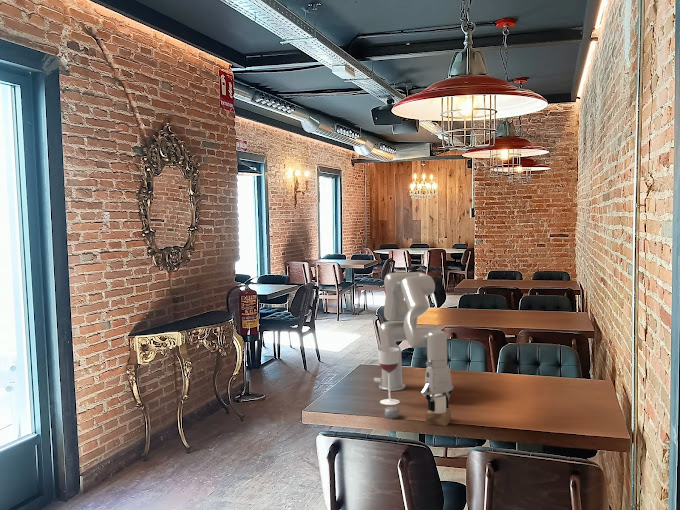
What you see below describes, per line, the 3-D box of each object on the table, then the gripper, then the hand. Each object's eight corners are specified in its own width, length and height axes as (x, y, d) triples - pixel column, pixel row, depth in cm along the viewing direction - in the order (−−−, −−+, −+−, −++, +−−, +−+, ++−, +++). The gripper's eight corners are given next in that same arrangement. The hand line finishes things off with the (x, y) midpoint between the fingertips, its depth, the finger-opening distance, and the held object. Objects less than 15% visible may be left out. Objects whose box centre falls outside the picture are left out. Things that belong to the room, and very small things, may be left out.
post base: (425, 423, 220) (425, 401, 220) (430, 417, 228) (430, 396, 227) (446, 425, 217) (446, 403, 217) (451, 419, 224) (450, 397, 224)
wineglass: (402, 399, 253) (401, 347, 252) (397, 405, 244) (396, 352, 243) (382, 397, 256) (381, 346, 255) (376, 404, 247) (375, 351, 246)
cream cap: (446, 413, 219) (446, 398, 219) (430, 413, 220) (430, 398, 219) (445, 408, 225) (445, 393, 225) (430, 408, 226) (429, 393, 225)
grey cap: (395, 420, 226) (395, 412, 226) (382, 417, 229) (382, 410, 228) (400, 415, 231) (401, 408, 231) (388, 413, 234) (388, 405, 233)
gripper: (426, 368, 214) (427, 415, 215) (460, 361, 223) (461, 407, 223) (413, 364, 220) (414, 410, 221) (447, 358, 229) (448, 402, 230)
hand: (438, 408), depth 222 cm, fingers closed on cream cap, 6 cm apart
